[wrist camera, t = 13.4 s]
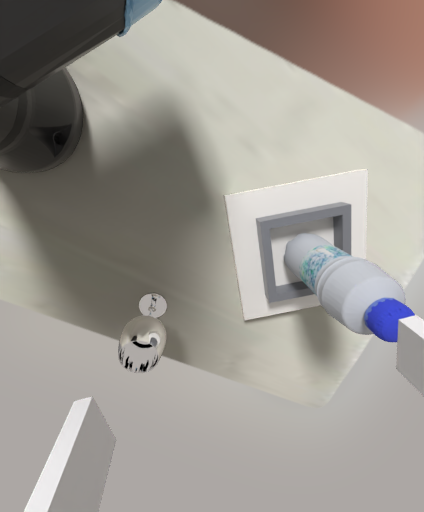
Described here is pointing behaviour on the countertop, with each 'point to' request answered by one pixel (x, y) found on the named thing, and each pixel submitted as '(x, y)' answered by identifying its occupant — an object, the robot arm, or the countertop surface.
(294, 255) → the bottle
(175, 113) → the countertop surface
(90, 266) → the countertop surface
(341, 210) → the dock
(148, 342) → the wineglass
